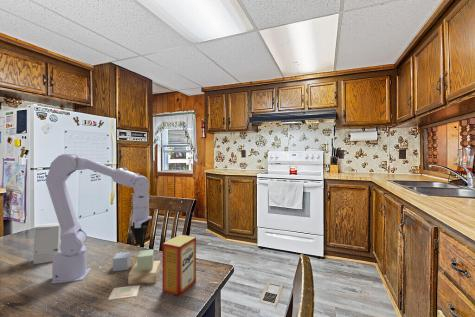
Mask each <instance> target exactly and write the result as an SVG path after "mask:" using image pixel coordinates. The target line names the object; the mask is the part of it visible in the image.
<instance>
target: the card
mask: <svg viewBox="0 0 475 317" xmlns="http://www.w3.org/2000/svg"><path fill="white" fill-rule="evenodd" d="M140 287H141V285H140V284H139V285H138V284H137V285H136V284H135V285H129V286H122V287H121V286H119V287H113V289H112V291H111V293H110V294H109V297H108V301H113V300H120V299H129V298H134V297H135V298H136V297H138V295H139V294H138V293H139V291H140Z"/></svg>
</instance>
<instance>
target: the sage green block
mask: <svg viewBox="0 0 475 317" xmlns="http://www.w3.org/2000/svg"><path fill="white" fill-rule="evenodd" d="M154 256H155V255H154V249H148V250H147V249H145V250H144V249H143V250H139V251H138V253H137V257H136V262H137V271H142V270H150V269H153V263H154V261H155V260H154Z"/></svg>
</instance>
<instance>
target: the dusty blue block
mask: <svg viewBox="0 0 475 317" xmlns="http://www.w3.org/2000/svg"><path fill="white" fill-rule="evenodd" d="M130 265H131V252H130V251H128V252H117V253H115V255H114V256H113V258H112V271H113V272H118V271H127V270H128V268H129V267H130Z"/></svg>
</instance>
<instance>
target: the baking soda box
mask: <svg viewBox="0 0 475 317" xmlns="http://www.w3.org/2000/svg"><path fill="white" fill-rule="evenodd" d="M196 281H197V237H196V236H192V235H186V234H179V235H177V236H174V237H172V238H170V239H169V240H167V241H165V242H163V243H162V282H161V284H162V292H164V293H168V294H171V295H174V297H180V296H182V295H183V294H184V293H185V292H186V291H187V290H188V289H190V287H191V286H193V285H194V284H195V283H196Z"/></svg>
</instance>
